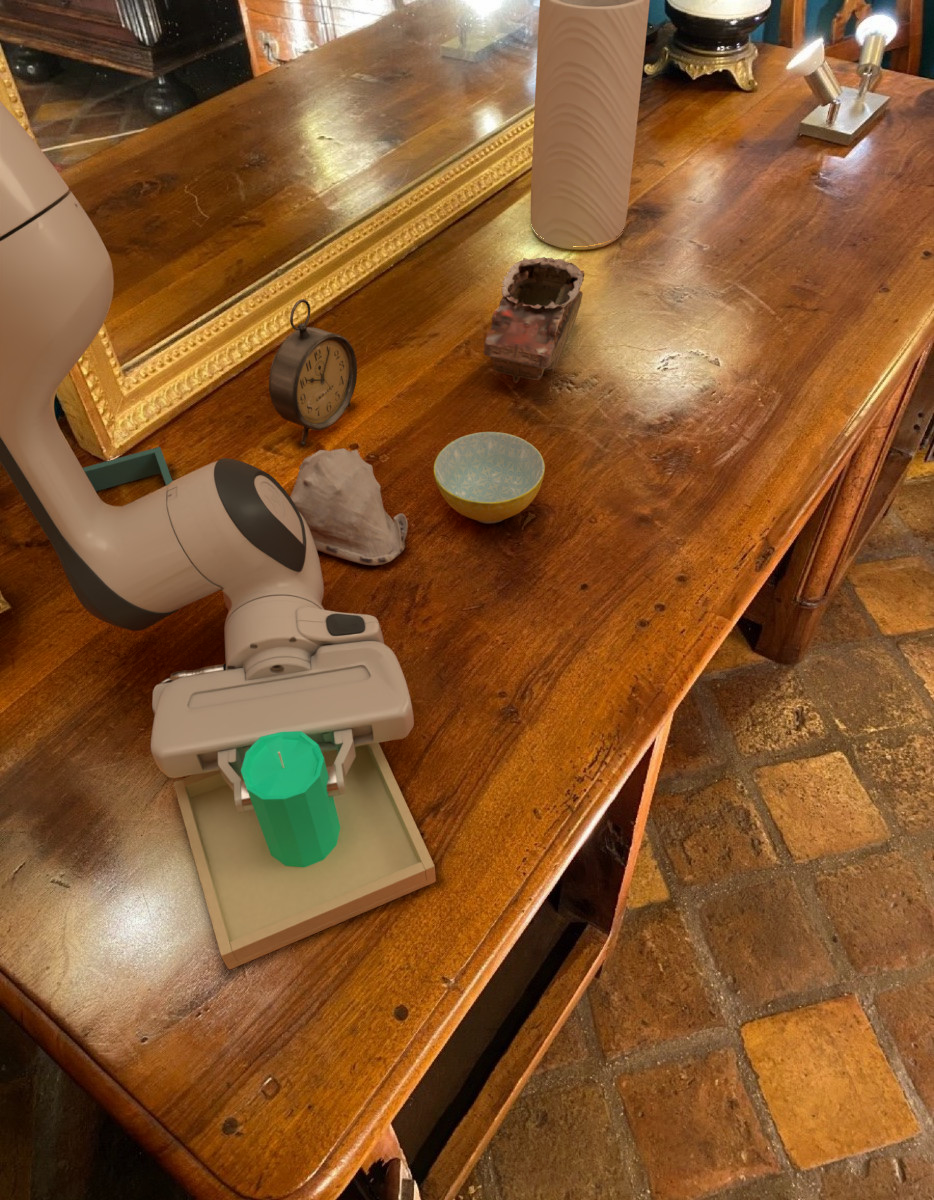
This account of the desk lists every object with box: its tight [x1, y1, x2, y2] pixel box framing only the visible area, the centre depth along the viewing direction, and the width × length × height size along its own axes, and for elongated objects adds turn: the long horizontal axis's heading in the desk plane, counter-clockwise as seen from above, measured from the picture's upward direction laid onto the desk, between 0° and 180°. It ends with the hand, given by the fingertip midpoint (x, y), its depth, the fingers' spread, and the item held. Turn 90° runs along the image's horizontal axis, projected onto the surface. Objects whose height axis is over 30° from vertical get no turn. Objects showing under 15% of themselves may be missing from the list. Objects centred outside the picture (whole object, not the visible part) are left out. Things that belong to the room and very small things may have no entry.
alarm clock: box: [268, 298, 358, 447], centre depth 106 cm, size 11×5×16 cm, turn 147°
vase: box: [530, 0, 651, 251], centre depth 131 cm, size 14×14×32 cm
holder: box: [82, 446, 173, 492], centre depth 101 cm, size 12×12×3 cm
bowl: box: [433, 431, 546, 524], centre depth 100 cm, size 11×12×6 cm
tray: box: [173, 742, 437, 971], centre depth 76 cm, size 17×16×3 cm
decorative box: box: [482, 256, 585, 383], centre depth 116 cm, size 13×20×10 cm, turn 156°
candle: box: [241, 731, 340, 867], centre depth 72 cm, size 6×6×12 cm
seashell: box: [289, 447, 409, 566], centre depth 97 cm, size 12×14×10 cm
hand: (291, 800), depth 70 cm, fingers open, 5 cm apart
